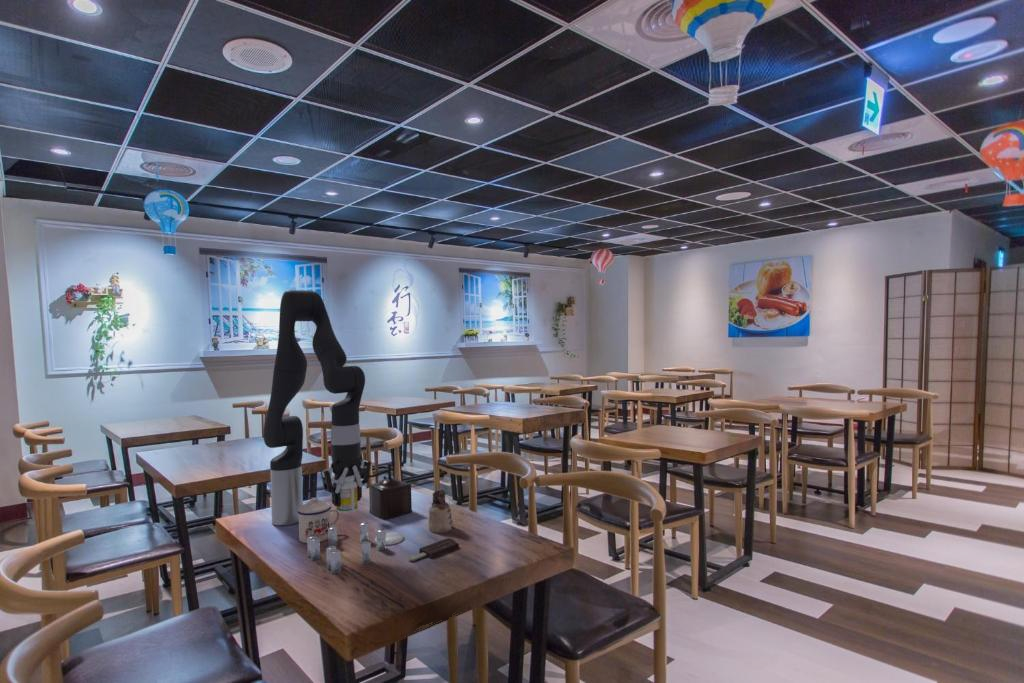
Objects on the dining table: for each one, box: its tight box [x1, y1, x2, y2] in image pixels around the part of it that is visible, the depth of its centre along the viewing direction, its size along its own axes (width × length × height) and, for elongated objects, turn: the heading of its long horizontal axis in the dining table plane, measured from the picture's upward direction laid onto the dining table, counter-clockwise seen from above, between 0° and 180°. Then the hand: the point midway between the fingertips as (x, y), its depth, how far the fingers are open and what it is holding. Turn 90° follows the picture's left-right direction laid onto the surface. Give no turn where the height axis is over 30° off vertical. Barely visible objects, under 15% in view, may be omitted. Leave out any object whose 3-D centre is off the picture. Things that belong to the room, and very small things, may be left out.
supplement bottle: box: [336, 475, 358, 515], centre depth 142 cm, size 5×5×10 cm
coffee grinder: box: [358, 462, 413, 521], centre depth 173 cm, size 16×11×18 cm
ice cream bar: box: [408, 538, 460, 562], centre depth 141 cm, size 5×2×15 cm
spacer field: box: [306, 521, 387, 575], centre depth 142 cm, size 19×18×5 cm
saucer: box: [374, 531, 404, 546], centre depth 151 cm, size 8×8×1 cm
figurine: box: [428, 488, 453, 534], centre depth 159 cm, size 7×7×12 cm
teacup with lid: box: [298, 497, 341, 544], centre depth 155 cm, size 12×9×12 cm
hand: (347, 502), depth 142 cm, fingers closed on supplement bottle, 5 cm apart
